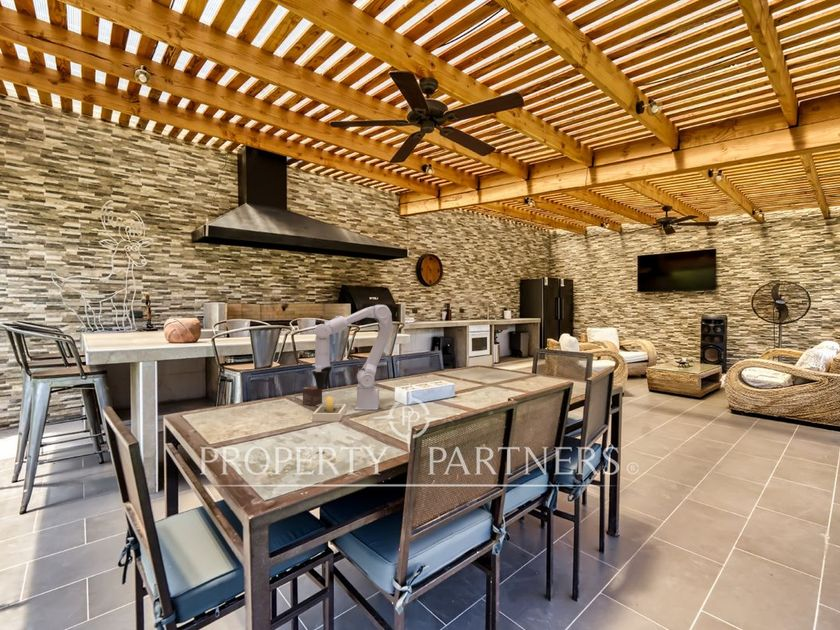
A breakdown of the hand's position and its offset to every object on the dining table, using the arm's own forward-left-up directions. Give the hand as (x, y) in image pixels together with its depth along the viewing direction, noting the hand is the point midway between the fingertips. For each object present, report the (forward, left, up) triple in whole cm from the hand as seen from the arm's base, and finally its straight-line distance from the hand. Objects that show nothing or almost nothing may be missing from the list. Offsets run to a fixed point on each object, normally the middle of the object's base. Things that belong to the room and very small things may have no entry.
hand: (322, 386), depth 165 cm
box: (+7, -11, -10) cm, 17 cm away
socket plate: (-5, +8, -10) cm, 14 cm away
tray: (-5, +8, -10) cm, 14 cm away
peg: (-5, +8, -9) cm, 13 cm away
